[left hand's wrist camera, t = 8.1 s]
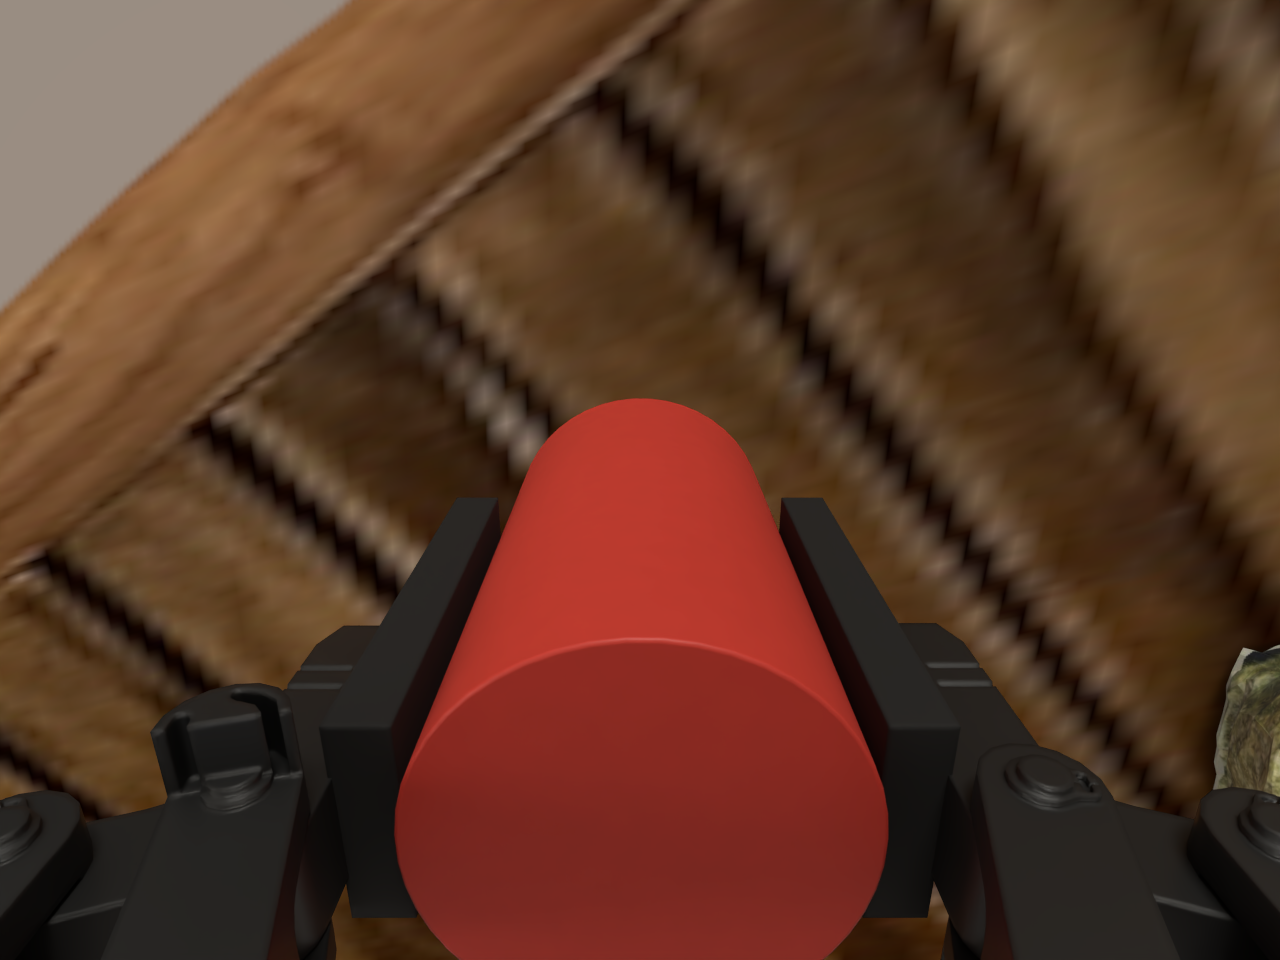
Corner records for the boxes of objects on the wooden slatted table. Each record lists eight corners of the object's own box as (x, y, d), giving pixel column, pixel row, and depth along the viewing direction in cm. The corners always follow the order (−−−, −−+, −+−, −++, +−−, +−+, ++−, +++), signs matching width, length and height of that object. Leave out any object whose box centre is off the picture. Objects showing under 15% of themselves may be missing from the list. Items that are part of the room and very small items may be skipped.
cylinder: (701, 355, 16) (777, 554, 7) (796, 565, 17) (955, 938, 9) (476, 461, 16) (293, 759, 8) (588, 651, 18) (540, 1073, 9)
